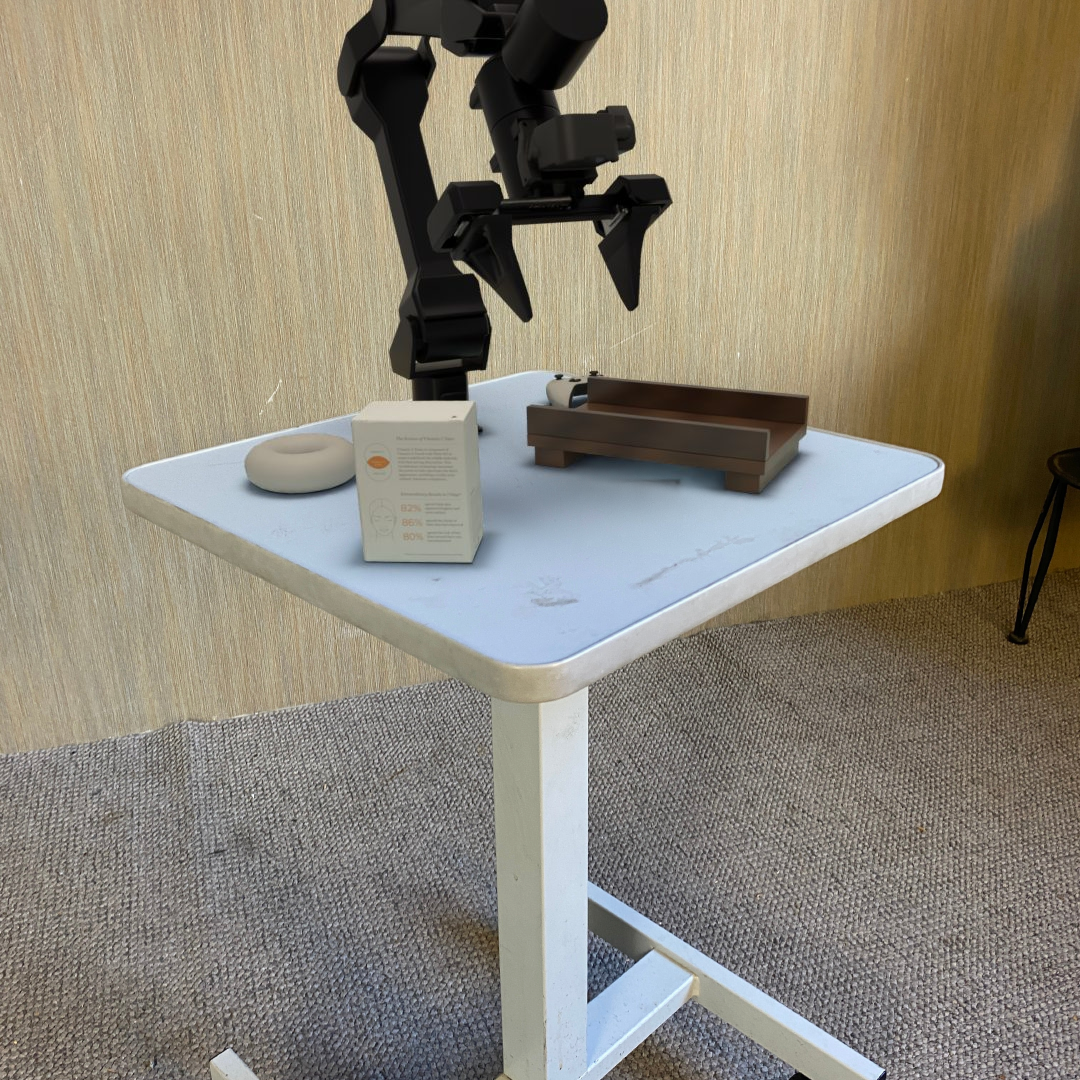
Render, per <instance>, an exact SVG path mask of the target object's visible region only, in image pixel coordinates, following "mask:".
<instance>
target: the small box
mask: <svg viewBox="0 0 1080 1080" xmlns="http://www.w3.org/2000/svg"><path fill="white" fill-rule="evenodd" d="M477 410H478V409H477V402H476V401H475V400H469V401H413V400H372V401H370V402H369V403H368V404H366V406H365V407H363V408H362V409H361V410H360V411H359V412H358V413H357V414H356V415H355V416H354V417H353V418H352V419H351V420H350V429H351V430H350V431H351V440H352V443H353V451H354V461H355V472H356V474H355V481H356V482H355V483H356V492H357V502H358V503H357V504H358V512H359V522H360V533H361V540H362V542H361V543H362V550H363V553H362V554H363V559H364V561H365V562H390V563H391V562H396V563H397V562H398V563H473V560H474V557H475V555H476V553H477V551H478V548H479V546H480V543H481V541H482V539H483V536H484V516H483V499H482V498H483V497H482V482H481V481H482V479H481V464H480V463H481V462H480V461H481V460H480V449H479V448H480V447H479V433H478V425H479V424H478V411H477Z"/></svg>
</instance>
